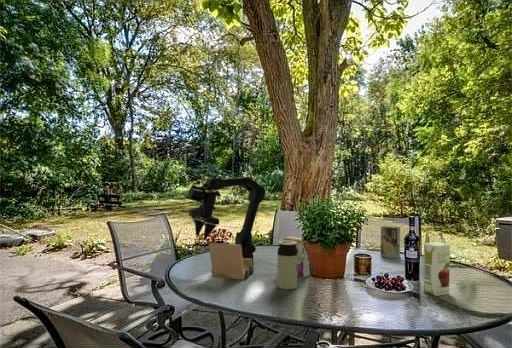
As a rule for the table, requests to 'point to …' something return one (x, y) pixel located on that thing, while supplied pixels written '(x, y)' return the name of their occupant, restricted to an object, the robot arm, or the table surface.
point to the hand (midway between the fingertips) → (200, 237)
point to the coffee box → (390, 242)
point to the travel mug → (287, 265)
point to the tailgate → (226, 258)
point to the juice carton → (436, 268)
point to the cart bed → (247, 271)
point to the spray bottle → (300, 257)
